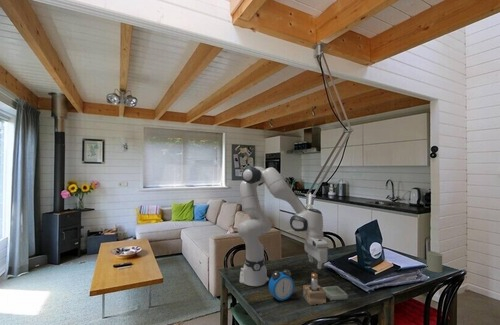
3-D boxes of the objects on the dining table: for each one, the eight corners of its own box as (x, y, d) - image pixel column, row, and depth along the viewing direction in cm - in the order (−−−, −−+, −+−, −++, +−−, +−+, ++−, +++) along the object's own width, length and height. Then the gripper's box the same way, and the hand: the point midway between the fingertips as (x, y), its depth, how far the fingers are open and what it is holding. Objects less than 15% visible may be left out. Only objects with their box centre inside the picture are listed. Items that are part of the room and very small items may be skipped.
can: (437, 267, 181) (437, 250, 181) (445, 273, 172) (445, 255, 172) (423, 266, 182) (423, 250, 182) (431, 272, 173) (431, 254, 173)
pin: (310, 298, 137) (310, 272, 137) (315, 298, 137) (315, 272, 137) (312, 301, 134) (312, 275, 134) (318, 301, 134) (318, 275, 134)
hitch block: (302, 296, 139) (303, 285, 139) (317, 294, 141) (317, 284, 141) (310, 305, 130) (310, 293, 130) (325, 303, 132) (326, 292, 132)
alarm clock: (273, 303, 131) (273, 274, 132) (267, 297, 137) (268, 270, 137) (294, 298, 137) (294, 271, 137) (288, 293, 142) (288, 266, 142)
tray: (321, 291, 145) (321, 287, 145) (337, 289, 147) (337, 285, 147) (330, 300, 135) (330, 296, 135) (347, 298, 137) (347, 294, 137)
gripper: (301, 234, 145) (301, 258, 145) (318, 245, 125) (318, 273, 125) (311, 233, 146) (311, 257, 146) (329, 244, 126) (329, 272, 126)
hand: (314, 265), depth 135 cm, fingers open, 8 cm apart
